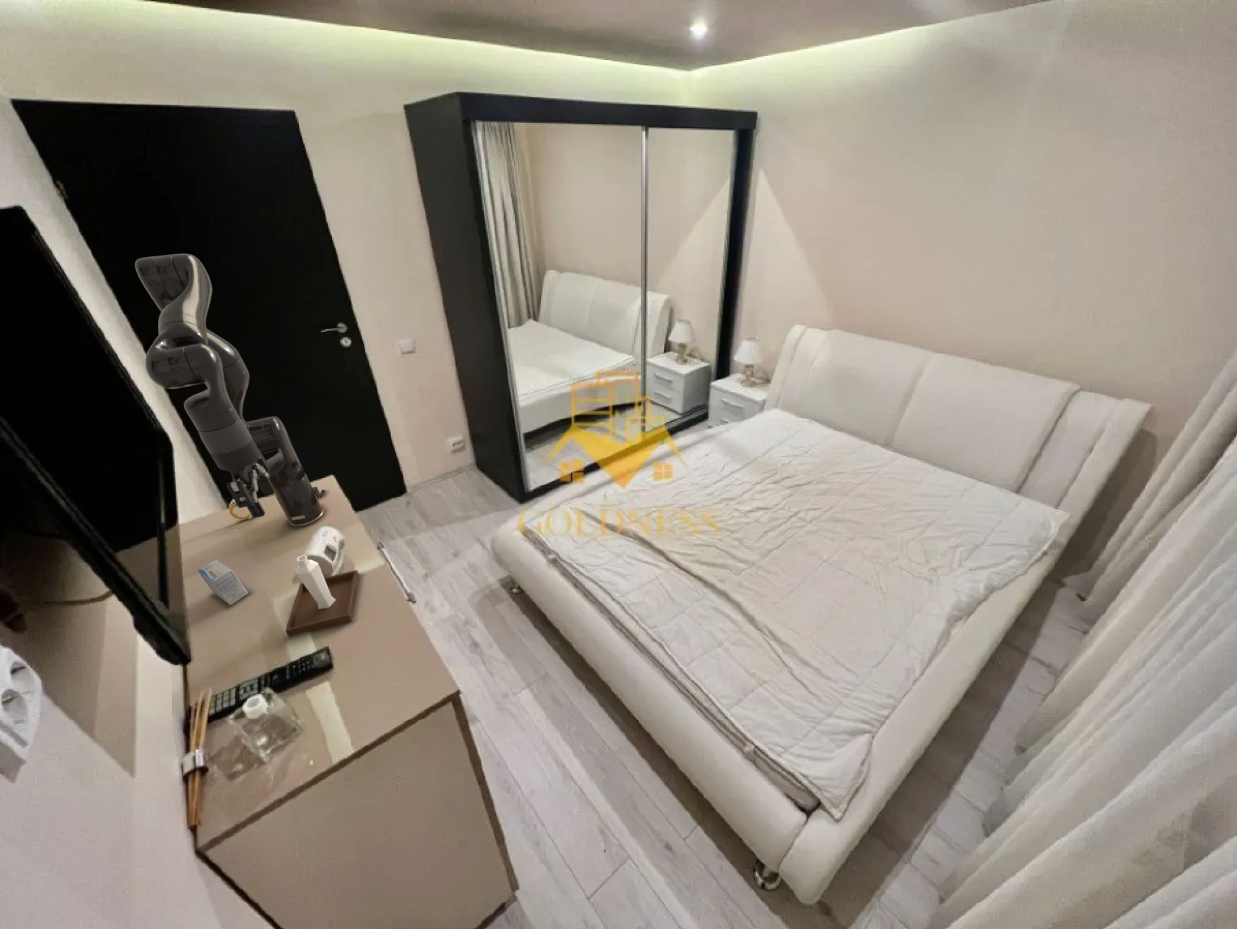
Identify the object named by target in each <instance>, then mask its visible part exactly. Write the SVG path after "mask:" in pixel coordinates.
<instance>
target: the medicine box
mask: <svg viewBox="0 0 1237 929" xmlns="http://www.w3.org/2000/svg"><path fill="white" fill-rule="evenodd" d="M197 572H198V573H199V576H200V577H201V578H202V579H203V580H204V582H205V583H206V584H207V586H208V587H209V589H210V590H211V591H212V593H213V594H215V595H216V596H217V597H219V599H221V600H222V601H224V602H225V603H227V604H228V605H229V606H232V605H233V604H235V603H236V602H238V601H239V600H241V599H242V598H244V597H245V596H247V595H248V594H249V592H248V591H247V589H246V588H245V586H244V585H243V584H242V582H241V581H240V579H239V578H238V576H237V575H236V573H235V572H234V571H233V570H232V569H231V568H230V567H228V566H226V564H223V562H221V561H219V560H218V559H215V560H213V561H211V562H209V563H207V564H205V565H203V566H202V567H201V568H199V569H197Z"/></svg>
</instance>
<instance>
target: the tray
mask: <svg viewBox="0 0 1237 929" xmlns="http://www.w3.org/2000/svg"><path fill="white" fill-rule="evenodd" d="M324 579H325V581H326V584H327V586H328V589H329V591H330V594H331V596H332V597H333V598H334V599H335V601H334V602H333V604H332V605H331V606H330V607H329V608H323V609H318V603H317V602H316V600H315V599H314V598H313V596H312V595H311V593H310V592H309V591H308V589H307V588H306V587H305V585H304V584H303V582H299V587H298V589H297V592H296V595H295V598H294V602H293V606H292V609H291V612H290V615H289V618H288V622H287V624H286V628H285V631H284V632H285V633H286V634H287V636H288V637H289V638H291V637H294V636H298V635H302V634H305V633H306V634H307V633H309V632H313V631H317V630H321V629H325V628H329V627H333V626H338V625H340V624H344V623H349V622H352V620H353V616H354V615H353V614H354V609H355V604H356V598H357V593H358V586H359V581H360V573H359V572H358V570H357V569H355V570H351V571H347V572H342V573H339V574H334V575H330V576H326V577H325V576H324Z"/></svg>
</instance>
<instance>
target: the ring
mask: <svg viewBox="0 0 1237 929" xmlns="http://www.w3.org/2000/svg"><path fill="white" fill-rule="evenodd" d="M240 499H241V498H240ZM236 506H237V504H236V502H235V500H234V499H233V498H232V499H231V501H230V503H229V506H228V509H229V514H230V516H232V518H235V519H238V520H251V519H252V518H254V517H253V516H252V515H251V513H249V514H246V515H243V516H242V515H238V514H235V512H234V511H233V510H234V509H235V507H236Z"/></svg>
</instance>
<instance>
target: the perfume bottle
mask: <svg viewBox="0 0 1237 929" xmlns="http://www.w3.org/2000/svg"><path fill="white" fill-rule="evenodd" d="M296 563H298V565H297V566H296V571H295V574H296V576H297V577H298V578H299V580H300V581H301V583H303V584H304V585H305V587H306V588H307V589H308V591H309V592H310V593H311V595H312V596H313V598H314V599H315V600H316V602H317V603H318V609H323V608H329V607H330V606H331V605H332V604H333V602H334V601H335V599H334V598H333V597H332V596H331V594H330V591H329V589H328V586H327V584H326V581H325V579H324V578H325V576H324V575H323V572H322V568H321V566H320V565H319V564H320V563H319V562H318V561H315V560H313V559H308V555H306V554H302V555H300V556H298V557H297V558H296Z"/></svg>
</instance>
